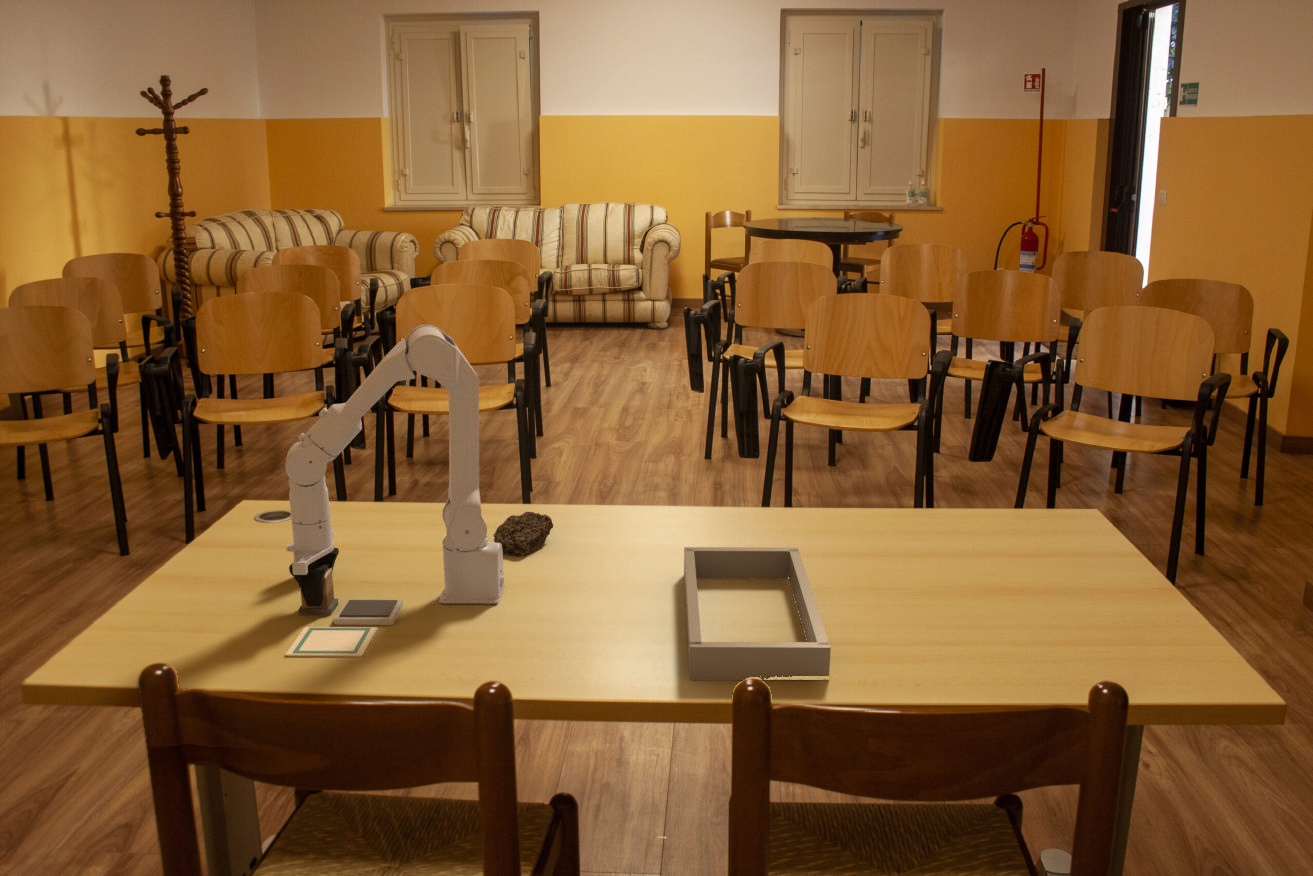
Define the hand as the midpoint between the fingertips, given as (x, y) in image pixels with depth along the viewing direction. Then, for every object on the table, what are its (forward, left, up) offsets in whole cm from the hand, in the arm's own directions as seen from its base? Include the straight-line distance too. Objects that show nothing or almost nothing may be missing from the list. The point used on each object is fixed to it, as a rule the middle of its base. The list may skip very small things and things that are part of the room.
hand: (318, 600), depth 173 cm
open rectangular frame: (-68, +4, -2) cm, 68 cm away
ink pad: (-9, +2, -2) cm, 9 cm away
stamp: (0, 0, -2) cm, 2 cm away
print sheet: (-6, +12, -2) cm, 13 cm away
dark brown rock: (-29, -29, -2) cm, 40 cm away
